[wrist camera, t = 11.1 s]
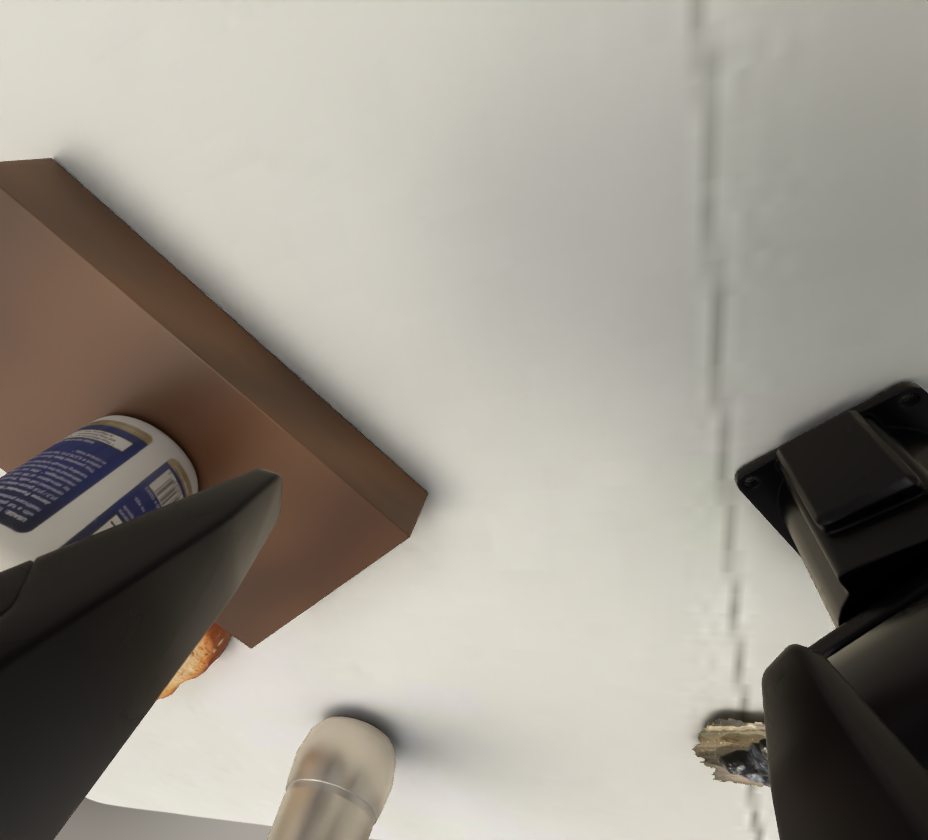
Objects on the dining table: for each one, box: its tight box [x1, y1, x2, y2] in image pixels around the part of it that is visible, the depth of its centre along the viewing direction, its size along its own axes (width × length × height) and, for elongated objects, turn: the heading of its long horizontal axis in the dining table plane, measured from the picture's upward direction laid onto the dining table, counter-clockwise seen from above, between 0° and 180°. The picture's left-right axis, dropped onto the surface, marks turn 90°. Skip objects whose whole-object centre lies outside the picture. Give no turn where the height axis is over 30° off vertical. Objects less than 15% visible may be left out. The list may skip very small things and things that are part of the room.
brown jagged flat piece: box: [692, 718, 771, 787], centre depth 27 cm, size 7×8×2 cm
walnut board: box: [0, 158, 428, 648], centre depth 24 cm, size 20×14×3 cm
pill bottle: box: [0, 415, 198, 572], centre depth 18 cm, size 5×5×10 cm
